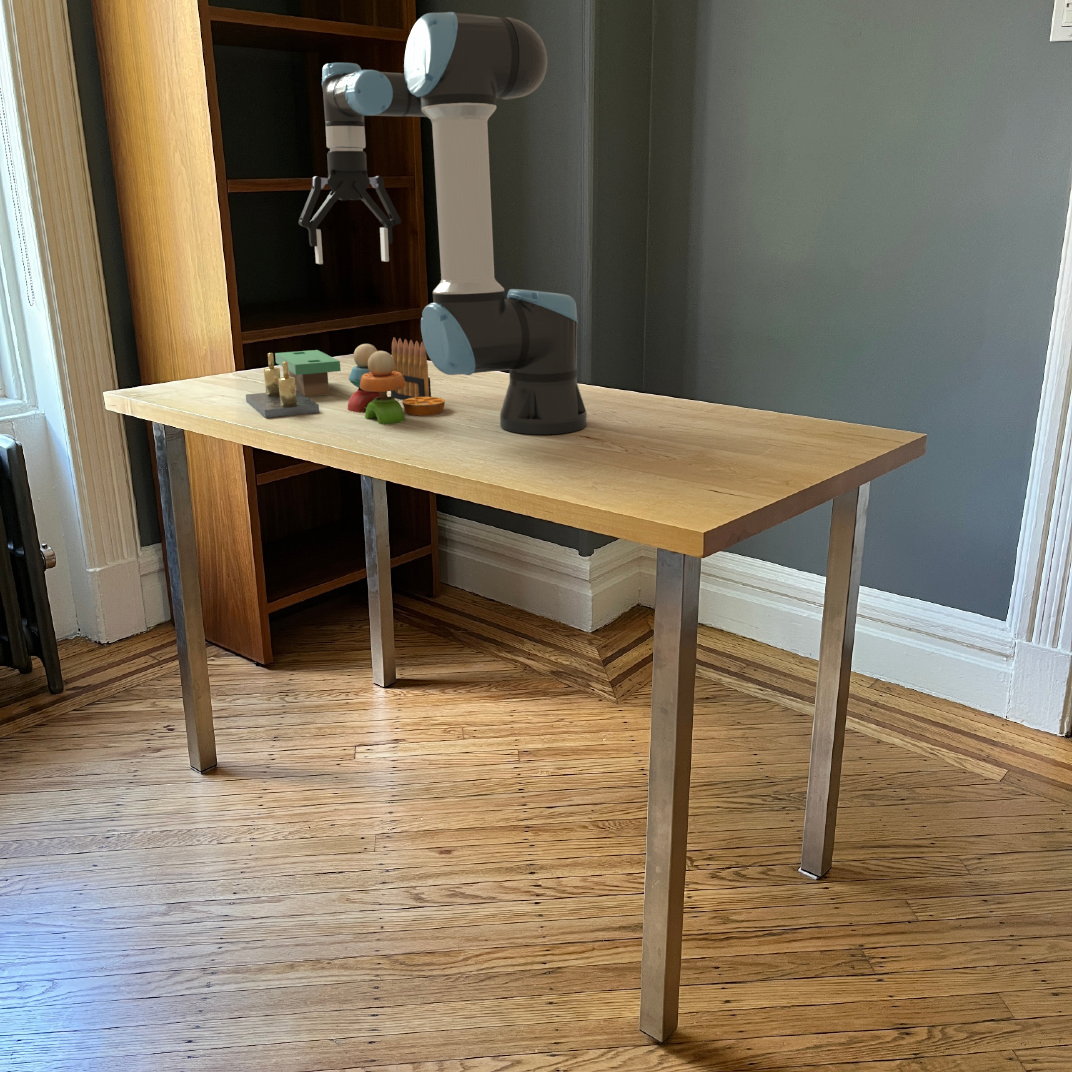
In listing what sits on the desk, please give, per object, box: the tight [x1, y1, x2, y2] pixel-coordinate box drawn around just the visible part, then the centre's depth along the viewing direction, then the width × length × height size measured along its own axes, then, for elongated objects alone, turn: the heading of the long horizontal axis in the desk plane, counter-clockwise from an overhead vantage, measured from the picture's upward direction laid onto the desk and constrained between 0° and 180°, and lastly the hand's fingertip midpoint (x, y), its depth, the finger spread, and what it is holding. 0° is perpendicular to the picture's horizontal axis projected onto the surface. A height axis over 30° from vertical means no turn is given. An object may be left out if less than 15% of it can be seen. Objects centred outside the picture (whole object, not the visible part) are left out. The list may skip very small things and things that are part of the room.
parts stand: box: [289, 371, 330, 397], centre depth 215 cm, size 12×5×5 cm, turn 26°
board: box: [274, 349, 342, 375], centre depth 214 cm, size 17×9×2 cm, turn 26°
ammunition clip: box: [390, 337, 432, 401], centre depth 203 cm, size 11×2×12 cm, turn 44°
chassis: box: [245, 352, 320, 419], centre depth 199 cm, size 17×10×10 cm, turn 26°
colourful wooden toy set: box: [347, 343, 446, 425], centre depth 193 cm, size 18×17×12 cm
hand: (352, 262), depth 211 cm, fingers open, 13 cm apart
